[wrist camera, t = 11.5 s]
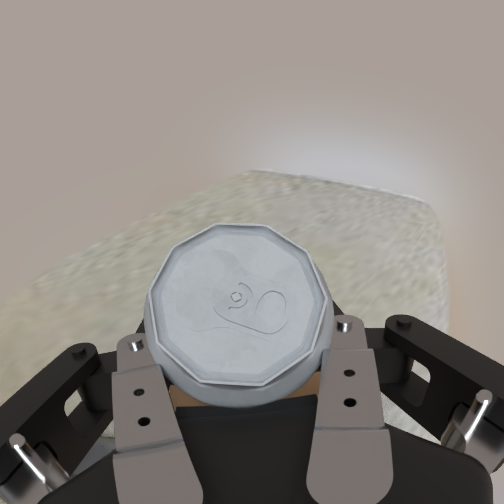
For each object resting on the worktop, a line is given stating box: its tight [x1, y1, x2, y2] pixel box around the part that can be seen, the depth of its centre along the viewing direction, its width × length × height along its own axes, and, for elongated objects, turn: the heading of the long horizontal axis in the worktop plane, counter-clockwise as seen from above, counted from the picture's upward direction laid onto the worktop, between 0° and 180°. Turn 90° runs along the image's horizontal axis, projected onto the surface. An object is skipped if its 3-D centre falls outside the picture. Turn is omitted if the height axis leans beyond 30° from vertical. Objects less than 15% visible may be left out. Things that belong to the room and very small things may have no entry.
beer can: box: [144, 223, 334, 409], centre depth 11 cm, size 5×5×12 cm
